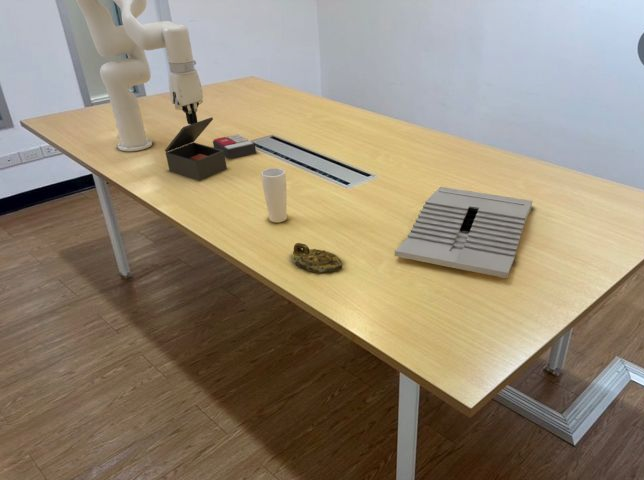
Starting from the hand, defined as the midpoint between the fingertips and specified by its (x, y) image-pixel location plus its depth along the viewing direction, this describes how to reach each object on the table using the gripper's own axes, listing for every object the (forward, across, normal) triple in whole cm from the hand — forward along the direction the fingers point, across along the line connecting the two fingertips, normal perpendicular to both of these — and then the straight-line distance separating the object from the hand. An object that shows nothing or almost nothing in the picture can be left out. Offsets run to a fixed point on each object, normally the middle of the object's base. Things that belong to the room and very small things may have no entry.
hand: (192, 123), depth 186 cm
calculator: (+17, -21, -5) cm, 27 cm away
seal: (+18, +26, +72) cm, 79 cm away
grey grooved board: (+18, -11, +98) cm, 100 cm away
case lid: (+5, 0, -3) cm, 6 cm away
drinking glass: (+17, +13, +47) cm, 52 cm away
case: (+17, 0, -2) cm, 17 cm away
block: (+16, 0, 0) cm, 16 cm away
